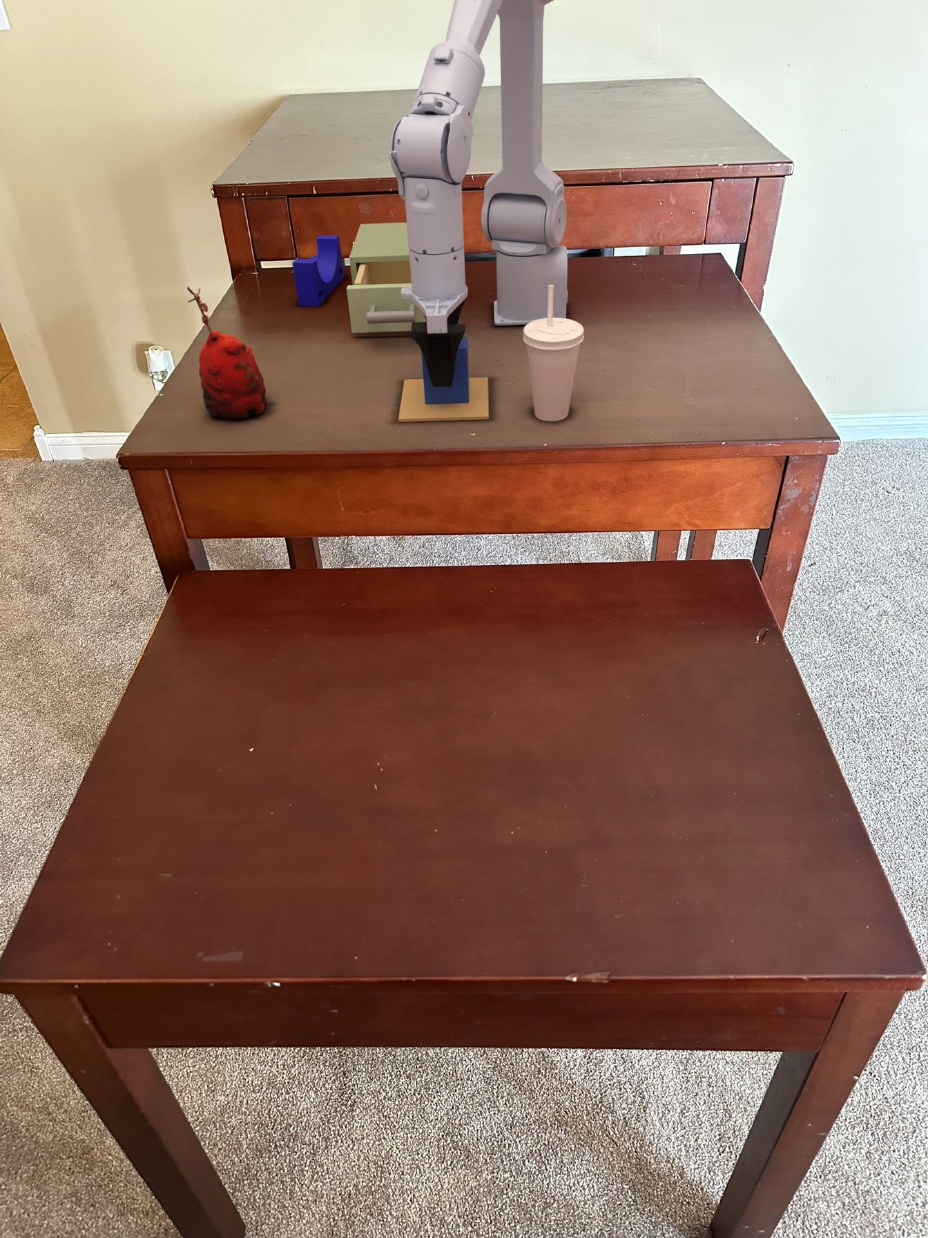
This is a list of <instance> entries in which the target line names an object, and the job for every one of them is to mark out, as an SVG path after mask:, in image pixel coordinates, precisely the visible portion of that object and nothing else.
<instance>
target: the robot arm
mask: <svg viewBox="0 0 928 1238" xmlns="http://www.w3.org/2000/svg"><path fill="white" fill-rule="evenodd" d="M553 1H555V0H454V1H453V4H452V10H451V13H450V18H449V23H448V27H447V32H446V36H445V41H441V42H438V43H437V44H435V45H434V46H433V47H432V48H431V49H430V51H429V54H428V58H427V59H426V63H425V66H424V70H423V72H422V76H421V79H420V81H419V85H418V87H417V91H416V94H415V97H414V101H413V103H412V106H411V110H410V113H406V114H405V116H403V117H402V118H400V119H398V120H397V121H396V123H395V124H394V126H393V129H392V133H391V138H390V151H389V160H390V165H391V169H392V172H393V174H394V176H395V178H396V180H397V187H398V188H397V189H398V195H399V196H400V199H401V200H403V201H404V203H405V204H404V206H405V218H406V222H407V233H408V246H409V258H410V272H411V285H412V286H408V287H403V288H402V289H401V298H402V299H410V300H412V301H413V302H414V303H415V304H416V305H417V307H418V308H419V309H420V310H421V311H422V312H423V314H424V316H425V319H426V322H412V326H411V331H410V333H411V335H412V338H413V339H414V341H415V342H416V344H417V345H418V347H419V349H420V352H421V351H422V353H423V356H424V359H425V362H426V365H427V369H428V373H429V377H430V380H431V383H432V385H433V387H451V386H452V383H453V378H454V370H455V361H456V355H457V351H458V347H459V345H460V342H461V340H462V338H463V336H465V334H466V328H467V327H466V326H467V325H466V323H459V321H460V315H461V313H462V310H463V306H464V304H465V302H466V300H467V297H468V294H469V291H468V285H467V284H466V262H465V260H466V259H465V239H464V238H465V237H464V236H465V235H464V211H463V209H464V207H463V187H462V186H463V185H462V183H463V182H462V181H463V180H464V178H465V177H466V175H467V172H468V169H469V167H470V162H471V156H472V155H471V152H472V139H473V135H474V133H473V131H474V127H473V125H472V118H473V115H474V112H475V109H476V105H477V102H478V99H479V96H480V94H481V93H480V92H481V89H482V86H483V83H484V81H485V76H486V69H485V65H484V62H483V60H482V58H481V53H482V52H483V49H484V46H485V44H486V42H487V39H488V37H489V35H490V32H491V29H492V27H493V26H494V25H493V24H494V23H495V20H496V18H497V16H498V19H499V56H500V57H499V59H500V111H501V113H500V114H501V117H500V118H501V162H502V163H501V165H502V167H500V168H499V169H497V170H496V171H495V172H494V173H493V174H492V175H491V176H489V178H488V179H487V180H486V183H485V185H484V188H483V204H482V208H481V218H480V219H481V230H482V233H483V235H484V237H485V239H486V240H487V241H488V242H489V243H491V250H494V251H495V252H496V253H495V254H496V255H495V256H496V257H495V258H496V260H495V261H496V300H494V301H493V313H494V315H493V316H494V317H493V318H494V325H495V326H526V325H527V324H529V323H530V322H532V321H535V320H538V319H543V318H547V316H548V285H553V286H554V289H553V318H565V319H567V304H568V303H569V290H568V250H567V246H565V245H559V244H560V243H561V242H562V240H563V238H564V234H565V231H566V227H567V216H568V215H567V214H568V213H567V212H568V211H567V203H566V198H565V185H564V180H563V179H562V178H561V177H560V175H558V174H556V173H555V171H553V170H551V169H550V168H549V167H548V166H547V165H546V164H544V162H543V93H544V92H543V89H544V88H543V84H544V82H543V81H544V78H543V77H544V74H543V73H544V17H545V6H546V5H548V4H550V3H552V2H553ZM422 353H421V354H422Z"/></svg>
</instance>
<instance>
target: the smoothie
mask: <svg viewBox="0 0 928 1238" xmlns="http://www.w3.org/2000/svg"><path fill="white" fill-rule="evenodd" d="M553 289H554V286H553V285H548V316H547V318H543V319H538V320H535V321H532V322H530V323H529V324H527V325H524V327H523V330H522V331H523V332H522V333H523V335H522V340H523V342H524V343H525V344H526V352H527V360H528V361H527V362H528V369H529V377H530V385H531V393H532V402H533V410H534V411H533V412H534V416H535V417H536V418H537V419H539V420H541V421H545V422H559V421H561V420H564V419H566V418H567V417H568V415H569V411H570V404H571V399H572V393H573V387H574V381H575V375H576V369H577V364H578V358H579V353H580V345H581V343H582V342H584V339H585V335H584V332H585V328H584V326H583V325H582V324H581V323H580V322H577V321H576V320H574V319H570V318H566V319H565V318H553Z"/></svg>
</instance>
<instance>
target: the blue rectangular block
mask: <svg viewBox="0 0 928 1238" xmlns="http://www.w3.org/2000/svg"><path fill="white" fill-rule="evenodd" d="M468 340H469V339H468V336H467V335H464V336H463V338H462V340H461V342H460V345H459V347H458V351H457V355H456V361H455V370H454V378H453V383H452V386H451V387H433V385H432V383H431V380H430V377H429V373H428V369H427V365H426V362H425V359H424V356H423V353H422V351H421V350H420V352H421V366H422V379H423V381H424V395H425V404H453V403H469V378H470V372H469V370H470V369H469V345H468V343H469V342H468Z"/></svg>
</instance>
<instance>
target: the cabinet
mask: <svg viewBox="0 0 928 1238" xmlns="http://www.w3.org/2000/svg"><path fill="white" fill-rule="evenodd" d="M348 258H349V266H350V275H351V284H352V285H355V284H354V283H355V280H356V277H357V273H358V270H359V267H360V263H363V262H392V261H410V258H409V246H408V233H407V221H406V222H384V223H383V222H381V223H361V224H359V227H358V231H357V234H356V237H355V239H354V242H353V245H352V248H351V251H350V254H349V257H348Z"/></svg>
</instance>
